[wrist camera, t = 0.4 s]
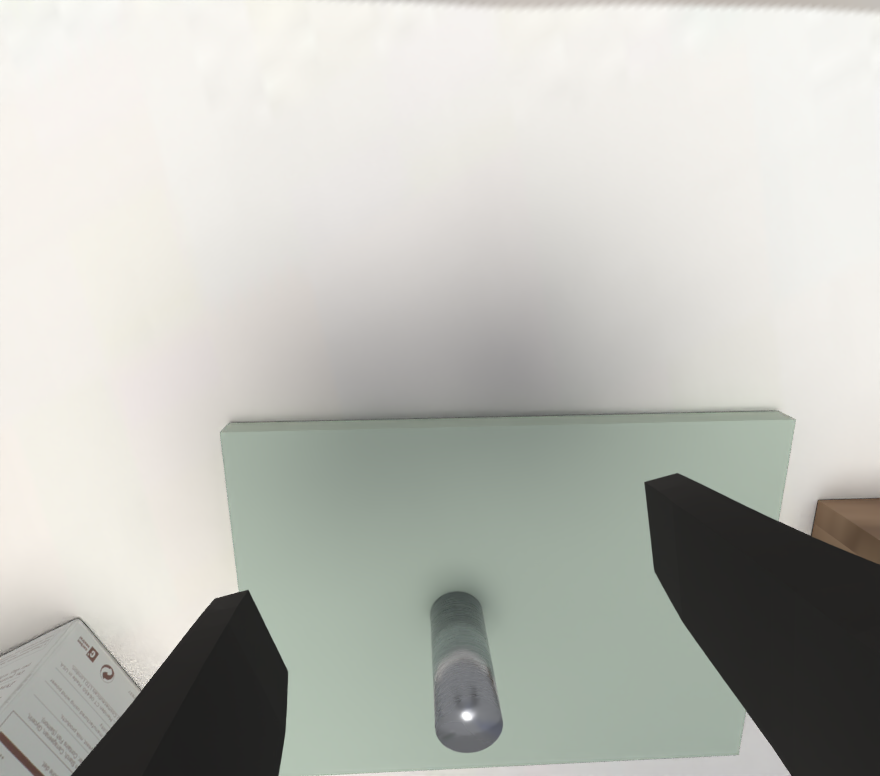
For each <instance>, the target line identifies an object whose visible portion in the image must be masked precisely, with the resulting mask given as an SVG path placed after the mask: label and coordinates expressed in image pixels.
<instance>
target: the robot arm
mask: <svg viewBox="0 0 880 776" xmlns="http://www.w3.org/2000/svg"><path fill="white" fill-rule="evenodd" d="M644 484H645V493H646V502H647V511H648V520H649V529H650V538H651V547H652V556H653V565H654V572H655V574H656V575H657V577H658V579H659V581H660V583H661V585H662V586H663V588H664V590H665V592H666V594H667V596H668V597H669V599H670V601H671V603H672V605H673V606H674V608H675V610H676V612H677V613H678V615H679V617H680V619H681V620H682V622H683V624H684V625H685V626H686V628H687V629H688V631H689V632H690V634H691V635H692V636H693V638H694V639H695V641H696V642H697V643H698V645H699V646H700V648H701V649H702V650H703V652H704V653H705V655H706V656H707V657H708V659H709V660H710V662H711V663H712V664H713V666H714V667H715V669H716V670H717V671H718V673H719V674H720V675H721V677H722V678H723V680H724V681H725V682H726V684H727V685H728V686H729V688H730V689H731V691H732V692H733V693H734V695H735V696H736V697H737V699H738V700H739V702H740V703H741V704H742V706H743V707H744V709H745V710H746V711H747V713H748V714H749V715H750V717H751V718H752V720H753V721H754V722H755V724H756V725H757V726H758V728H759V729H760V731H761V732H762V733H763V735H764V736H765V738H766V739H767V740H768V742H769V743H770V744H771V746H772V747H773V749H774V750H775V752H776V753H777V755H778V756H779V758H780V759H781V761H782V762H783V764H784V765H785V767H786V768H787V770H788V771H789V773H790V774H791V776H880V564H877V563H874V562H872V561H870V560H867V559H865V558H862V557H860V556H857V555H855V554H852V553H850V552H848V551H845V550H843V549H840V548H838V547H835V546H833V545H830V544H828V543H826V542H823V541H821V540H819V539H817V538H814V537H812V536H810V535H807V534H805V533H803V532H801V531H798V530H796V529H794V528H792V527H790V526H787V525H785V524H783V523H781V522H779V521H777V520H775V519H772V518H770V517H768V516H766V515H764V514H762V513H760V512H758V511H756V510H753V509H751V508H749V507H747V506H745V505H743V504H741V503H739V502H737V501H735V500H733V499H731V498H729V497H727V496H725V495H723V494H721V493H719V492H717V491H715V490H713V489H711V488H708V487H706V486H704V485H702V484H700V483H698V482H696V481H694V480H692V479H690V478H688V477H686V476H683V475H681V474H679V473H675V474H671V475H668V476H664V477H660V478H657V479H653V480H649V481H646V482H644ZM287 696H288V670H287V668H286V666H285V664H284V662H283V660H282V658H281V655H280V653H279V651H278V649H277V647H276V645H275V643H274V641H273V639H272V637H271V635H270V633H269V631H268V629H267V627H266V625H265V623H264V621H263V618H262V616H261V614H260V612H259V610H258V608H257V606H256V604H255V602H254V600H253V598H252V596H251V594H250V592H249V590H245V591H241V592H238V593H234V594H230V595H227V596H223V597H219V598H216V599H214V600H213V601H212V603H211V604H210V605H209V606H208V607H207V608H206V610H205V611H204V612H203V613H202V614H201V616H200V617H199V618H198V619H197V621H196V622H195V623H194V624H193V626H192V627H191V628H190V629H189V631H188V632H187V633H186V635H185V636H184V637H183V638H182V640H181V641H180V642H179V644H178V645H177V646H176V647H175V649H174V650H173V651H172V653H171V654H170V655H169V656H168V658H167V659H166V660H165V662H164V663H163V664H162V665H161V667H160V668H159V669H158V670H157V672H156V673H155V674H154V675H153V677H152V678H151V679H150V681H149V682H148V683H147V684H146V686H145V687H144V688H143V689H142V691H141V692H140V693H139V694H138V696H137V697H136V698H135V699H134V701H133V702H132V703H131V705H130V706H129V707H128V708H127V709H126V711H125V712H124V713H123V714H122V716H121V717H120V718H119V719H118V720H117V721H116V723H115V724H114V725H113V726H112V727H111V729H110V730H109V731H108V732H107V733H106V734H105V736H104V737H103V738H102V739H101V740H100V742H99V743H98V744H97V745H96V746H95V747H94V749H93V750H92V751H91V752H90V753H89V755H88V756H87V757H86V758H85V759H84V760H83V762H82V763H81V764H80V765H79V766H78V768H77V769H76V770H75V771H74V772H73V773H72V775H71V776H279V771H280V765H281V758H282V752H283V746H284V739H285V733H286V717H287Z"/></svg>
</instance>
